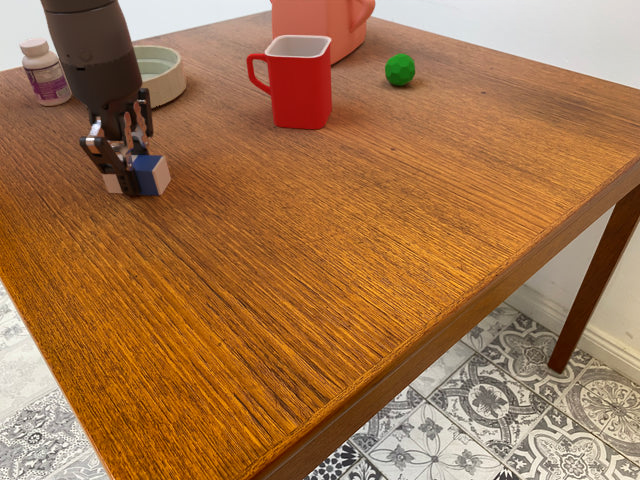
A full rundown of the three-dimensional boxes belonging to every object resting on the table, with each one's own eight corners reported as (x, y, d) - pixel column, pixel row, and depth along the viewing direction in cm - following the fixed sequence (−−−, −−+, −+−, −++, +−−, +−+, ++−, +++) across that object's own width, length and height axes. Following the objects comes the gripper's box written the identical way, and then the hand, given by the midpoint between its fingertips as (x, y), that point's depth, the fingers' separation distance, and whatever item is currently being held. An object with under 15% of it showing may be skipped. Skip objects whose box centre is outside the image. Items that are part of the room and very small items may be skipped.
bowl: (63, 115, 82) (51, 85, 79) (110, 72, 95) (101, 45, 92) (166, 118, 80) (158, 87, 77) (200, 73, 93) (194, 45, 90)
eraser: (108, 193, 65) (99, 169, 62) (120, 177, 67) (112, 153, 65) (161, 195, 64) (154, 171, 61) (171, 179, 67) (164, 155, 64)
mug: (335, 105, 80) (333, 36, 74) (324, 131, 74) (320, 58, 67) (262, 101, 83) (253, 33, 76) (245, 126, 77) (234, 54, 70)
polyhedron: (379, 87, 85) (380, 58, 82) (390, 76, 88) (391, 48, 85) (409, 92, 83) (411, 62, 80) (418, 80, 86) (420, 51, 83)
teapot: (354, 74, 89) (354, -13, 80) (251, 55, 98) (240, -25, 89) (400, 37, 102) (405, -42, 93) (305, 23, 111) (301, -50, 102)
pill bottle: (37, 97, 88) (13, 40, 82) (70, 90, 90) (48, 33, 83) (40, 110, 84) (15, 50, 78) (74, 102, 86) (52, 43, 80)
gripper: (93, 25, 60) (134, 154, 71) (24, 75, 49) (85, 217, 61) (154, 25, 59) (186, 156, 70) (98, 75, 48) (146, 220, 60)
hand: (139, 183), depth 65 cm, fingers closed on eraser, 3 cm apart
